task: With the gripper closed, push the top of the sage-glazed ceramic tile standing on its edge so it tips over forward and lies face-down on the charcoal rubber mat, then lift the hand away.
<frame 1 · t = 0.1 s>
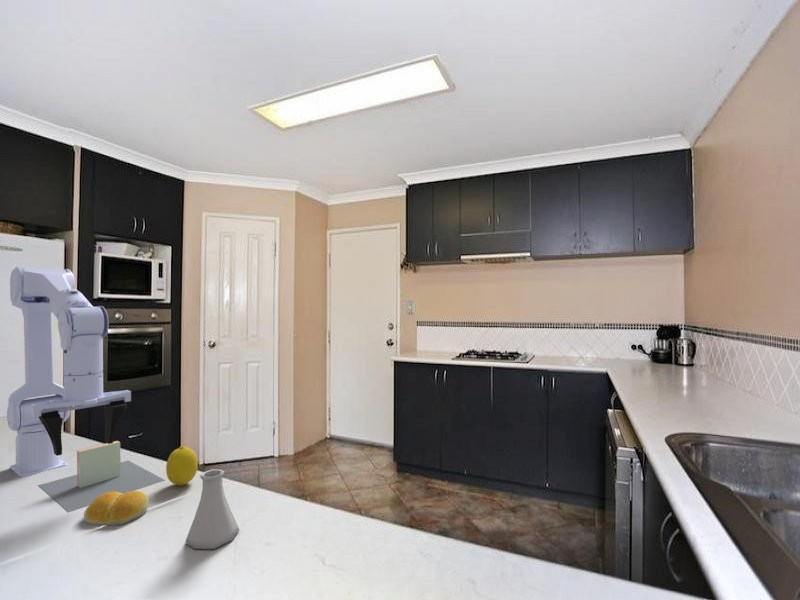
hand: (84, 448, 77), 10 cm above the countertop, tool pointing down, fingers open, 7 cm apart
lemon: (182, 487, 84), on the countertop
flask: (213, 538, 66), on the countertop
mat: (102, 484, 85), on the countertop
bread roll: (117, 517, 73), on the countertop
tile: (99, 480, 86), resting on mat
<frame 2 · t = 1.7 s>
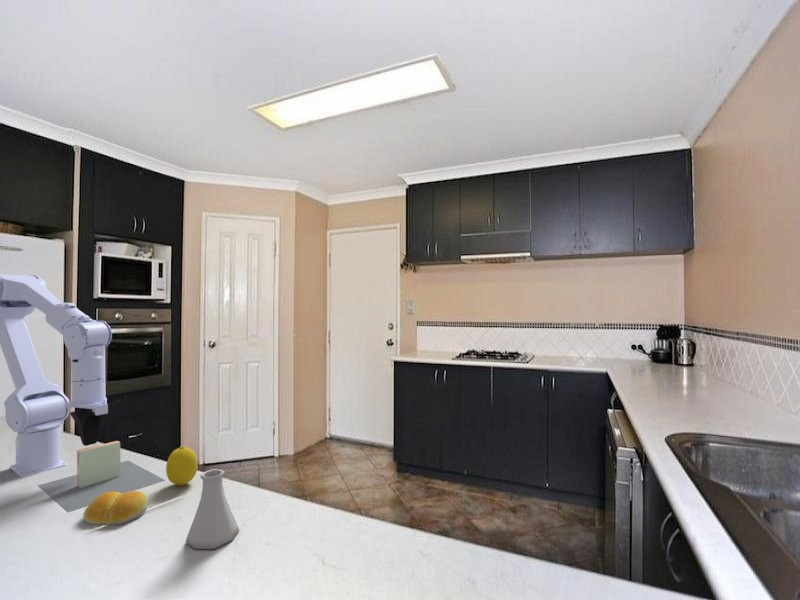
hand: (89, 444, 89), 7 cm above the countertop, tool pointing down, fingers closed
nothing on the countertop moved.
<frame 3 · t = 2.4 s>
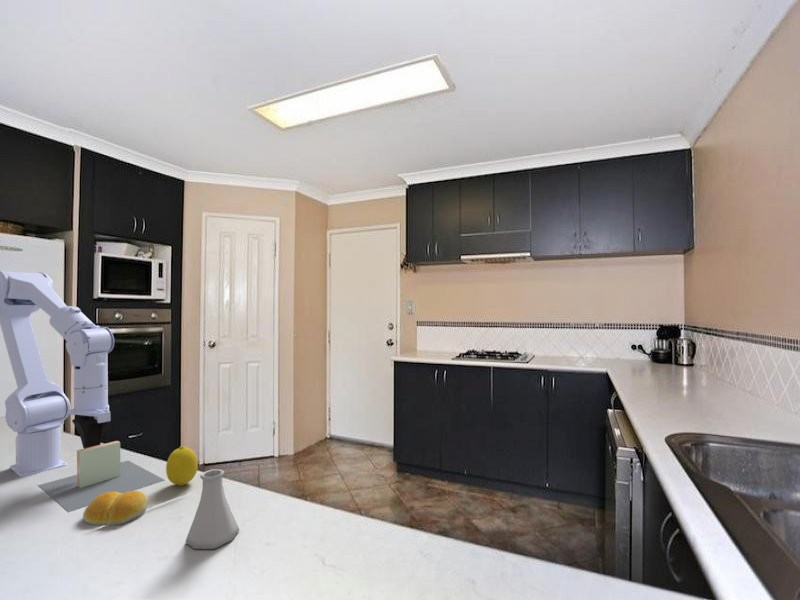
hand: (91, 451, 88), 5 cm above the countertop, tool pointing down, fingers closed
nothing on the countertop moved.
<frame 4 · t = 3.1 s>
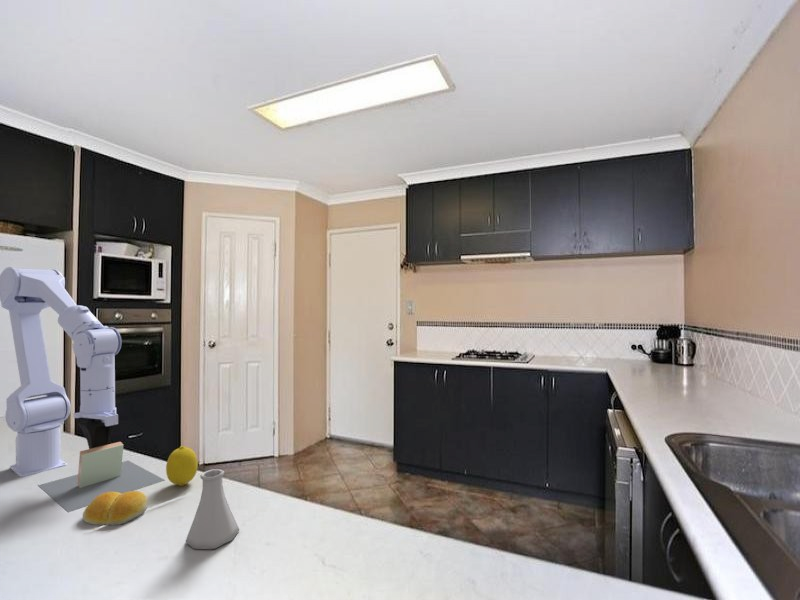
hand: (98, 455, 86), 5 cm above the countertop, tool pointing down, fingers closed
tile: (99, 479, 86), point 1 cm above the countertop, tilted 14°, touching mat
everything else where it was.
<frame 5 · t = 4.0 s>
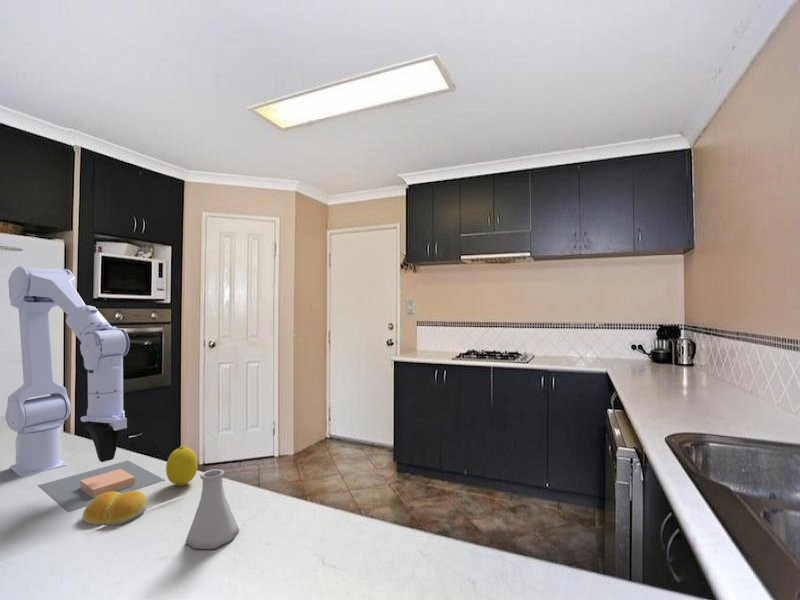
hand: (106, 459, 84), 5 cm above the countertop, tool pointing down, fingers closed
tile: (101, 478, 85), point 1 cm above the countertop, tilted 90°, touching mat
everything else where it was.
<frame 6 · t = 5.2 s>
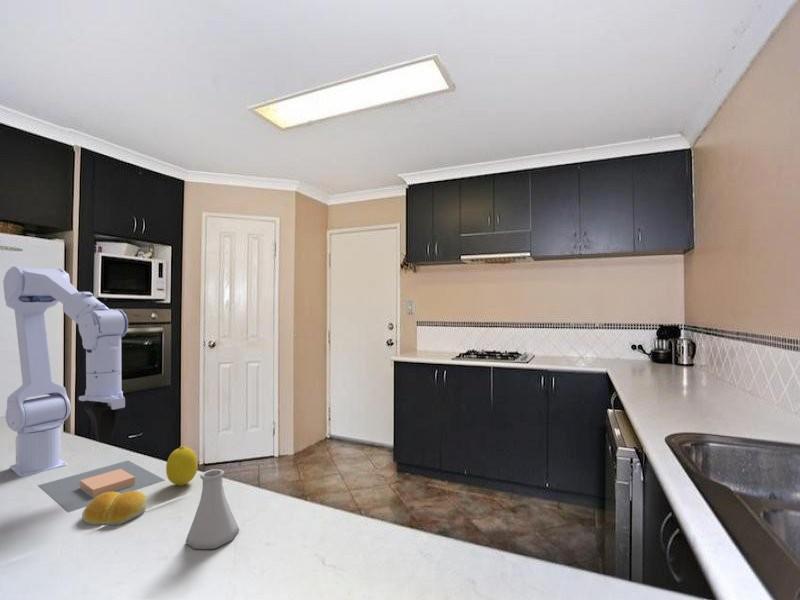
hand: (104, 440, 84), 9 cm above the countertop, tool pointing down, fingers closed
nothing on the countertop moved.
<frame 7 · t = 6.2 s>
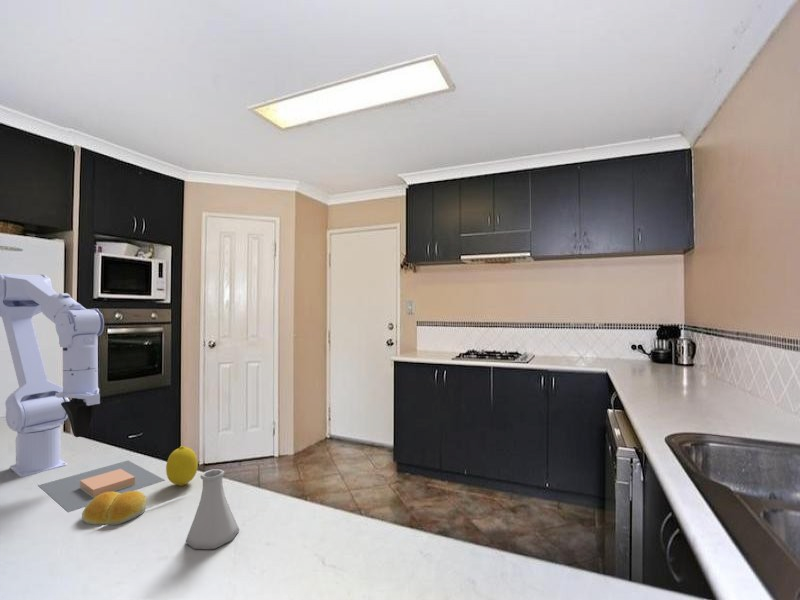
hand: (81, 435, 86), 9 cm above the countertop, tool pointing down, fingers closed
nothing on the countertop moved.
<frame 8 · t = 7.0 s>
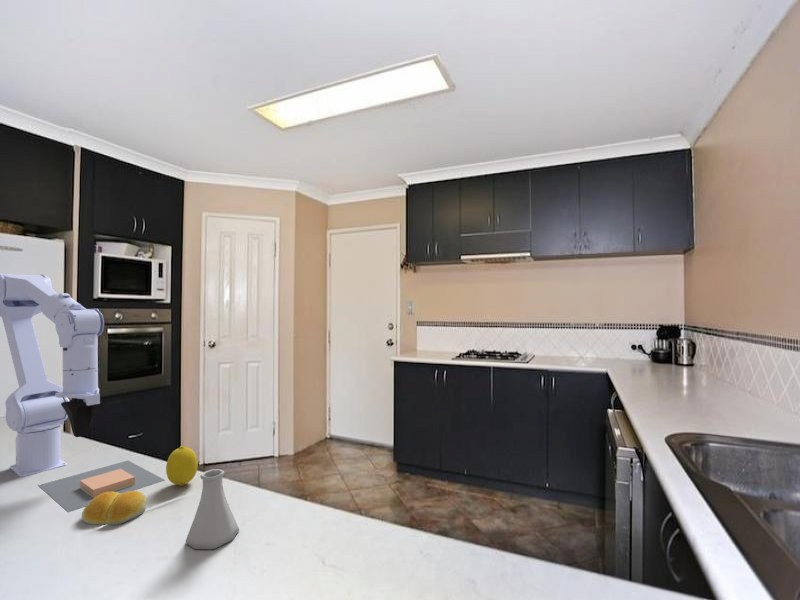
hand: (81, 435, 86), 9 cm above the countertop, tool pointing down, fingers closed
nothing on the countertop moved.
at the end: tile tilted 90°; tile inside the target area (3.0 cm from its centre), point 1.1 cm above the countertop; tile touching mat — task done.
